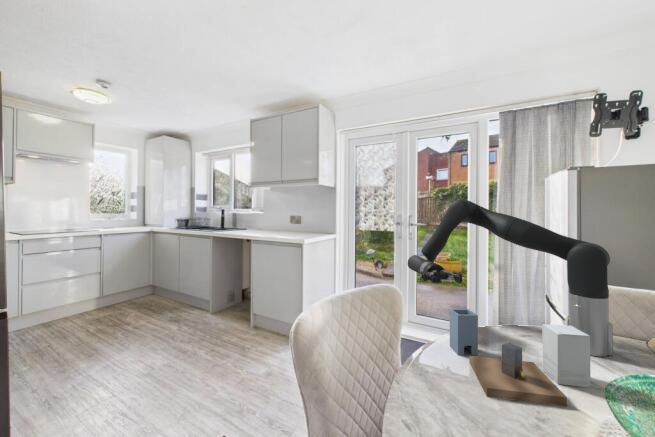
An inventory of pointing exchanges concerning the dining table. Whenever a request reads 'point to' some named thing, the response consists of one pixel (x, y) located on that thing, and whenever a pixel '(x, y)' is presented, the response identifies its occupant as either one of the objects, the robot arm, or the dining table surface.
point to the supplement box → (566, 355)
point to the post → (512, 361)
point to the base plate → (516, 382)
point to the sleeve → (463, 331)
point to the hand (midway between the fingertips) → (448, 280)
